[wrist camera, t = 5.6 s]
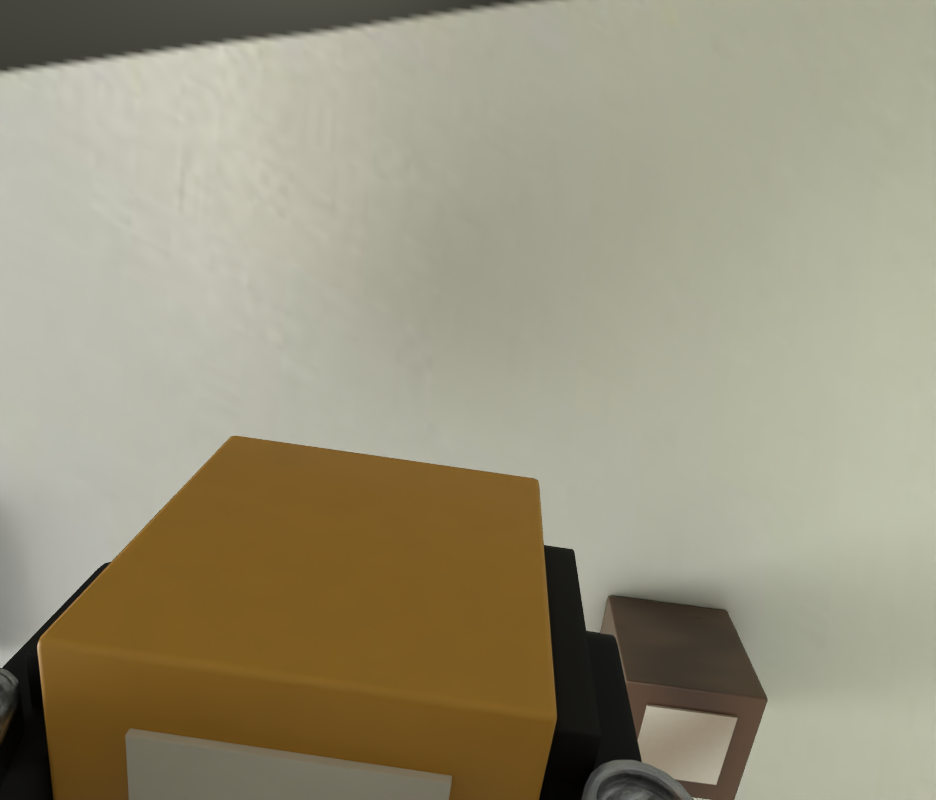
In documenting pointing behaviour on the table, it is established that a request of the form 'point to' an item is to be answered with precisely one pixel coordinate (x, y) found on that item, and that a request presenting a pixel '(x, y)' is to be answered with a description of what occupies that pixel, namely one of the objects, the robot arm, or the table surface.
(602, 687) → the robot arm
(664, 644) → the walnut block
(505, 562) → the ochre block
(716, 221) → the table surface
